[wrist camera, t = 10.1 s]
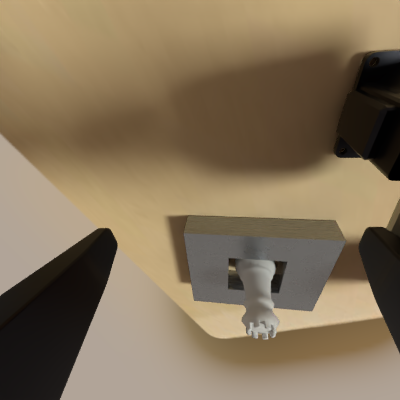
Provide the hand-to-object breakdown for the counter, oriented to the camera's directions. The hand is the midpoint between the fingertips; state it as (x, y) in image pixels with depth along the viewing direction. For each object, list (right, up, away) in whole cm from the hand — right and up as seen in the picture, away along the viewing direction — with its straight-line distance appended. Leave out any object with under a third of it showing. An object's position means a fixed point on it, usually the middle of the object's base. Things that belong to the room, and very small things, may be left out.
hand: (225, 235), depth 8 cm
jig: (+5, -5, +17) cm, 19 cm away
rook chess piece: (+5, -5, +17) cm, 19 cm away
